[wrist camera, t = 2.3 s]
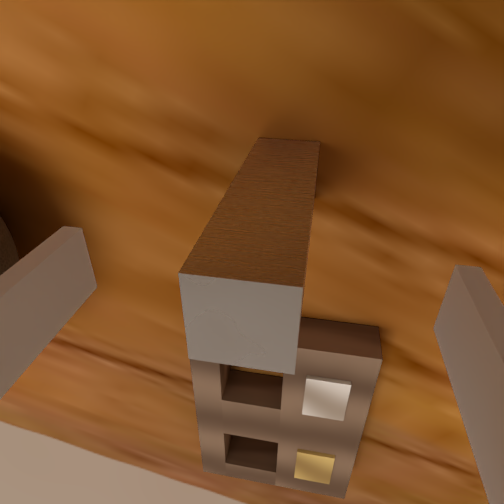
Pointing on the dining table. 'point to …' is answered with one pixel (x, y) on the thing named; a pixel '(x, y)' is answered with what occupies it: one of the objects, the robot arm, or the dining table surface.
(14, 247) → the dark grey round ball
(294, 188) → the plug
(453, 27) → the dining table surface
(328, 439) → the socket board
